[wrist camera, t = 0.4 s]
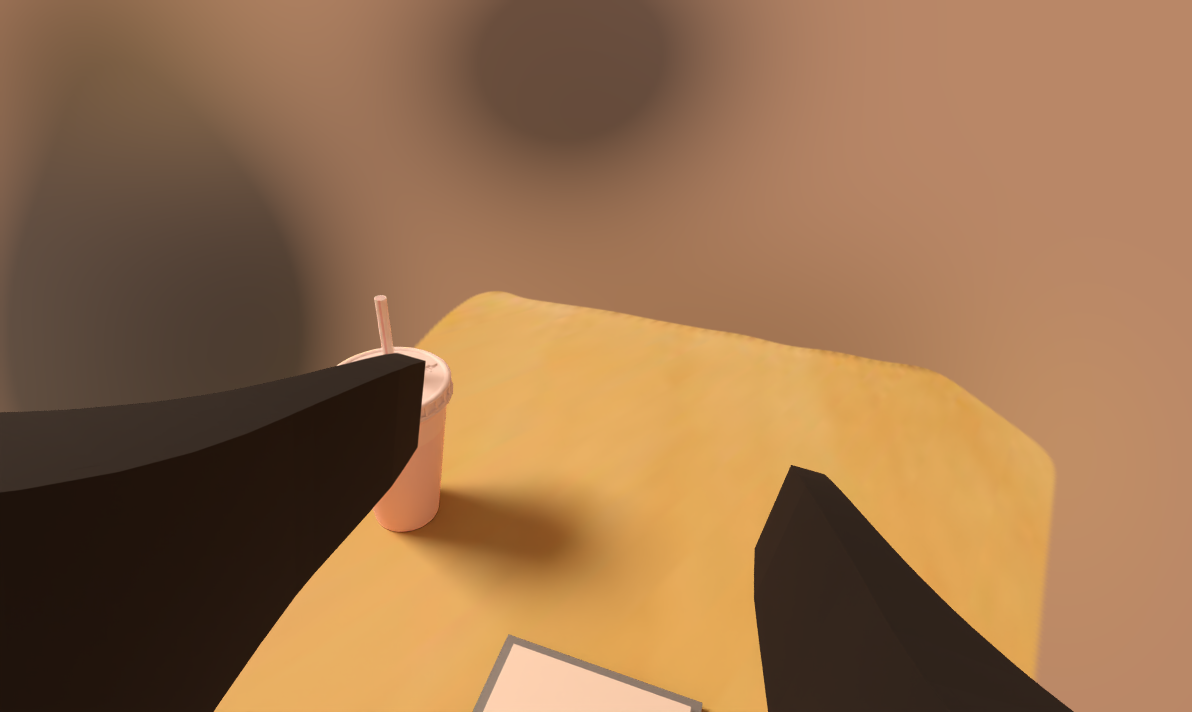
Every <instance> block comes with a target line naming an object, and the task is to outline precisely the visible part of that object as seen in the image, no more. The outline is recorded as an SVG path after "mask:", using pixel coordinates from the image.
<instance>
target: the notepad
mask: <svg viewBox="0 0 1192 712" xmlns="http://www.w3.org/2000/svg"><path fill="white" fill-rule="evenodd" d="M701 711H702V703H701V702H698V701H696V700H693V699H690V698H687V697H684V696H681V695H679V694H676V693H673V692H670V691H667V690H664V689H662V688H659V687H656V686H653V685H650V684H647V683H645V682H642V681H639V680H636V679H633V678H631V677H628V676H625V675H622V674H619V673H616V672H614V671H611V670H608V669H605V668H602V667H599V666H597V665H594V664H591V663H588V662H585V661H582V660H580V659H577V658H574V657H571V656H568V655H565V654H563V653H560V652H557V651H554V650H551V649H548V648H546V647H543V646H540V645H537V644H534V643H532V642H529V641H526V640H523V639H520V638H517V637H515V636H512V635H509V634H508V637H507V639H506V641H505V643H504V645H503V647H502V649H501V652H500V654H499V656H498V658H497V660H496V662H495V664H494V667H493V669H492V671H491V673H490V675H489V677H488V679H487V682H486V684H485V686H484V688H483V690H482V692H481V694H480V697H479V699H478V701H477V703H476V705H475V707H474V710H473V712H701Z"/></svg>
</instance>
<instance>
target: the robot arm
mask: <svg viewBox="0 0 1192 712" xmlns="http://www.w3.org/2000/svg"><path fill="white" fill-rule="evenodd" d="M425 364H426V361H424V360H421V359H417V358H414V357H410V356H407V355H403V354H400V353H391V354H385V355H380V356H375V357H371V358H366V359H362V360H358V361H354V362H350V363H346V364H343V365H339V366H335V367H331V368H327V369H323V370H319V371H315V372H311V373H307V374H303V375H300V376H295V377H291V378H286V379H281V380H277V381H273V382H268V383H263V384H259V385H254V386H250V387H245V388H241V389H236V390H231V391H225V392H219V393H213V394H208V395H201V396H195V397H188V398H181V399H174V400H167V401H159V402H151V403H141V404H129V405H118V406H107V407H96V408H84V409H72V410H54V411H32V412H7V413H6V412H2V413H0V712H214V710H215V709H216V707H217V706H218V704H219V703H220V701H221V700H222V698H223V697H224V695H225V694H226V693H227V691H228V690H229V688H230V687H231V685H232V684H233V682H234V681H235V680H236V678H237V677H238V675H239V674H240V672H241V671H242V670H243V668H244V667H245V665H246V664H247V662H248V661H249V660H250V658H251V657H252V655H253V654H254V652H255V651H256V649H257V648H258V647H259V645H260V644H261V642H262V641H263V640H264V638H265V637H266V636H267V634H268V633H269V632H270V630H271V629H272V627H273V626H274V625H275V623H276V622H277V621H278V619H279V618H280V617H281V615H282V614H283V612H284V611H285V610H286V608H287V607H288V606H289V604H290V603H291V602H292V600H293V599H294V597H295V596H296V595H297V594H298V592H299V591H300V590H301V589H302V588H303V586H304V585H305V584H306V583H307V582H308V580H309V579H310V578H311V577H312V576H313V574H314V573H315V572H316V571H317V570H318V569H319V568H320V567H321V565H322V564H323V563H324V562H325V561H326V560H327V559H328V558H329V557H330V555H331V554H332V553H333V552H334V551H335V550H336V549H337V548H338V546H339V545H340V544H341V543H342V542H343V541H344V540H345V539H346V538H347V536H348V535H349V534H350V533H351V532H352V531H353V530H354V529H355V528H356V526H357V525H358V524H359V523H360V522H361V521H362V520H363V519H364V518H365V516H366V515H367V514H368V513H369V512H370V511H371V510H372V509H373V507H374V506H375V505H376V504H377V503H378V502H379V501H380V499H381V498H382V497H383V496H384V495H385V494H386V493H387V491H388V490H389V489H390V488H391V487H392V485H393V484H394V482H395V481H396V480H397V478H398V477H399V475H400V474H401V472H402V471H403V469H404V468H405V466H406V465H407V463H408V462H409V460H410V459H411V457H412V455H413V454H414V452H415V451H416V449H417V448H418V438H419V428H420V417H421V406H422V396H423V385H424V375H425ZM754 602H755V611H756V619H757V628H758V636H759V644H760V652H761V660H762V667H763V675H764V683H765V691H766V698H767V706H768V712H1073V711H1072V710H1071V709H1069V708H1068V707H1067V706H1065V705H1064V704H1063V703H1062V702H1060V701H1059V700H1058V699H1057V698H1055V697H1054V696H1053V695H1051V694H1050V693H1049V692H1048V691H1046V690H1045V689H1044V688H1042V687H1041V686H1040V685H1039V684H1038V683H1036V682H1035V681H1034V680H1033V679H1031V678H1030V677H1029V676H1028V675H1027V674H1025V673H1024V672H1023V671H1022V670H1021V669H1019V668H1018V667H1017V666H1016V665H1015V664H1013V663H1012V662H1011V661H1010V660H1009V659H1008V658H1006V657H1005V656H1004V655H1003V654H1002V653H1001V652H1000V651H998V650H997V649H996V648H995V647H994V646H993V645H992V644H991V643H989V642H988V641H987V640H986V639H985V638H984V637H983V636H981V635H980V634H979V633H978V632H977V631H976V630H975V629H973V628H972V627H971V626H970V625H969V624H968V623H967V622H966V621H965V620H964V619H963V618H961V617H960V616H959V615H958V614H957V613H956V612H955V611H954V610H953V609H952V608H951V607H950V606H949V605H948V604H947V603H946V602H945V601H944V600H943V599H942V598H941V597H940V596H939V595H938V594H937V593H936V592H935V591H934V590H933V589H932V588H931V587H930V586H929V585H928V584H927V583H926V582H925V581H924V580H923V579H922V578H921V577H920V576H919V575H918V574H917V573H916V572H915V571H914V570H913V569H912V568H911V567H910V566H909V565H908V564H907V563H906V562H905V561H904V560H903V559H902V558H901V556H900V555H899V554H898V553H897V552H896V551H895V550H894V549H893V548H892V547H891V546H890V545H889V544H888V542H887V541H886V540H885V539H884V538H883V537H882V536H881V535H880V534H879V533H878V531H877V530H876V529H875V528H874V527H873V526H872V525H871V524H870V523H869V521H868V520H867V519H866V518H865V517H864V516H863V515H862V514H861V512H860V511H859V510H858V509H857V508H856V507H855V506H854V505H853V503H852V502H851V501H850V500H849V499H848V498H847V497H846V496H845V495H844V494H843V492H842V491H841V490H840V489H839V488H838V487H837V486H836V485H835V484H834V483H833V482H832V481H831V480H830V479H829V478H828V477H827V476H826V475H824V474H821V473H818V472H814V471H811V470H807V469H804V468H800V467H797V466H793V465H791V467H790V469H789V471H788V474H787V476H786V478H785V480H784V483H783V485H782V487H781V490H780V492H779V494H778V496H777V499H776V501H775V503H774V506H773V508H772V510H771V512H770V515H769V517H768V519H767V522H766V524H765V526H764V528H763V531H762V533H761V535H760V538H759V540H758V542H757V545H756V547H755V560H754Z"/></svg>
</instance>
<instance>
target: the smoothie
mask: <svg viewBox="0 0 1192 712" xmlns="http://www.w3.org/2000/svg"><path fill="white" fill-rule="evenodd" d="M374 300H375V306H376V313H377V320H378V326H379V333H380V339H381V345H382V348H379V349H375V350H370V351H366V352H363V353H360V354H357V355H355V356H353V357H350V358H348V359H346V360H345V361H343V362H342V363H340V364H338V365H337V366H339V365H343V364H346V363H350V362H354V361H358V360H362V359H366V358H371V357H375V356H380V355H385V354H391V353H400V354H403V355H407V356H410V357H414V358H417V359H421V360H424V361H426V364H425V375H424V385H423V396H422V406H421V417H420V428H419V438H418V448H417V449H416V451H415V452H414V454H413V455H412V457H411V459H410V460H409V462H408V463H407V465H406V466H405V468H404V469H403V471H402V472H401V474H400V475H399V477H398V478H397V480H396V481H395V482H394V484H393V485H392V487H391V488H390V489H389V490H388V491H387V493H386V494H385V495H384V496H383V497H382V498H381V499H380V501H379V502H378V503H377V504H376V505H375V506H374V507H373V511H374V514H375V516H376V518H377V521H378V522H379V524H380V525H381V526H383V527H384V528H386V529H388V530H391V531H396V532H406V531H412V530H415V529H418V528H420V527H422V526H424V525H426V524H427V523H428V522H430V521H431V520H432V519H433V518H434V516H435V515H436V513H437V511H438V508H439V499H440V486H441V472H442V458H443V444H444V431H445V419H446V405H447V404H448V403H449V401H450V399H451V396H452V394H453V383H452V381H451V371H450V368H449V366H448V365H447V363H446V362H445V361H444V360H443V359H441V358H440V357H438V356H437V355H435V354H433V353H431V352H428V351H425V350H421V349H416V348H409V347H393V342H392V334H391V327H390V320H389V313H388V305H387V299H386V296H383V295H379V296H376V297H375V298H374Z"/></svg>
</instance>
